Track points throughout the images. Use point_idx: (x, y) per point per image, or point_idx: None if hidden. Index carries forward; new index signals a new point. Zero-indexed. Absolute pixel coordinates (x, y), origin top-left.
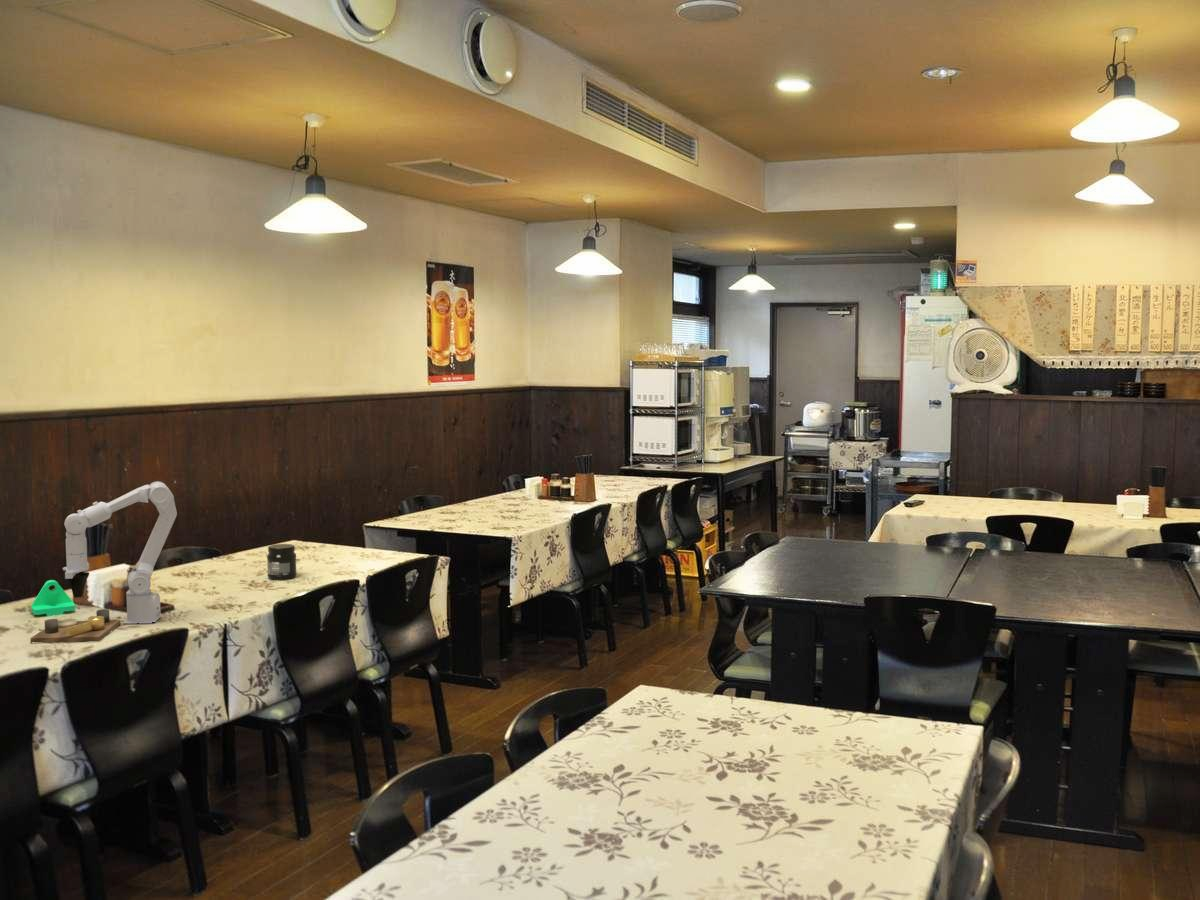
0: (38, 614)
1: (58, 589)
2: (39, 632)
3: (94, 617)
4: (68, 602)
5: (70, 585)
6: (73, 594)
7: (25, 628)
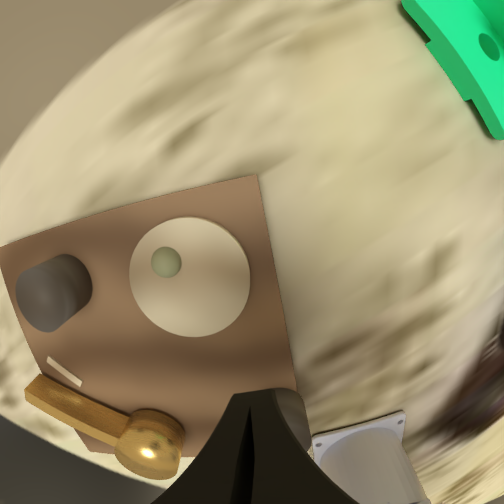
0: (407, 12)
1: None
2: (51, 230)
3: (147, 456)
4: None
5: (176, 481)
6: (225, 411)
7: (201, 50)
